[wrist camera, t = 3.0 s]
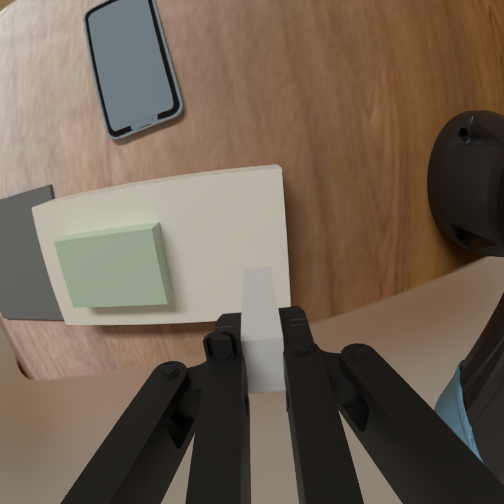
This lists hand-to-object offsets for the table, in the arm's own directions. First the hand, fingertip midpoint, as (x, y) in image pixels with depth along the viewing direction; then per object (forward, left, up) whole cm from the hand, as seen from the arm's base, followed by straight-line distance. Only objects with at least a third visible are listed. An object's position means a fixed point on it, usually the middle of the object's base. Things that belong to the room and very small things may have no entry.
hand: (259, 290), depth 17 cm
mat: (+27, 0, -11) cm, 29 cm away
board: (+9, 0, -11) cm, 14 cm away
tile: (+12, 0, -7) cm, 14 cm away
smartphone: (+10, -18, -12) cm, 23 cm away
